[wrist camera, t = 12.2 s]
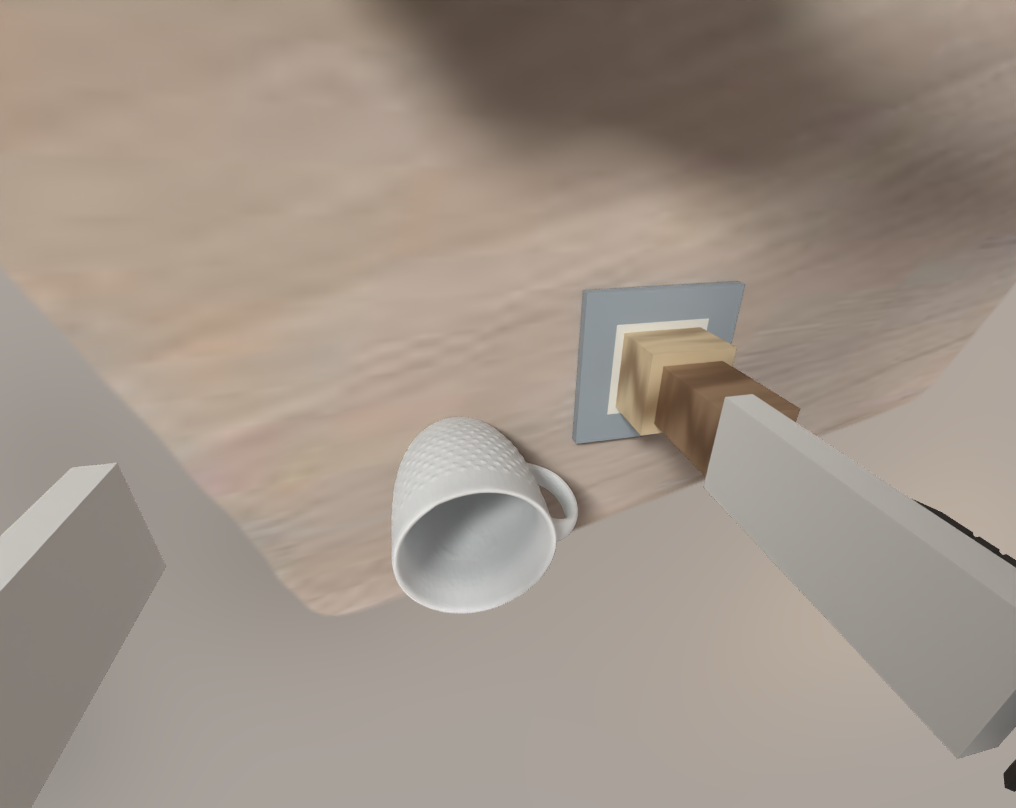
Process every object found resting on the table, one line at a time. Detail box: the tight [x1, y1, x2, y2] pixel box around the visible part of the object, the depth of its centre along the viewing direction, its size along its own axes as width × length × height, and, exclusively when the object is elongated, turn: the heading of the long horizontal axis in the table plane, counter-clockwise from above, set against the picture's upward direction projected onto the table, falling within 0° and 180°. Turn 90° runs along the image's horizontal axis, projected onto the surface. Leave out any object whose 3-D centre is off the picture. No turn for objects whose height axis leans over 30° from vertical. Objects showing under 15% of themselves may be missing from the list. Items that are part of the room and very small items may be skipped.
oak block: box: [616, 327, 737, 435], centre depth 39 cm, size 7×7×5 cm
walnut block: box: [654, 361, 800, 477], centre depth 33 cm, size 5×5×8 cm
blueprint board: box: [572, 281, 745, 444], centre depth 42 cm, size 14×14×1 cm
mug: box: [391, 417, 578, 613], centre depth 37 cm, size 15×11×13 cm
